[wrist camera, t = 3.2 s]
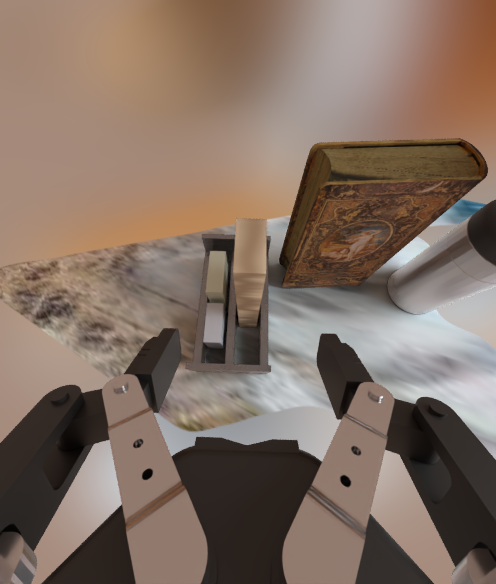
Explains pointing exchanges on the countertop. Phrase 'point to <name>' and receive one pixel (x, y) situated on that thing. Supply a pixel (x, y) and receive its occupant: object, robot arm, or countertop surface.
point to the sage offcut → (218, 278)
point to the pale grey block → (215, 326)
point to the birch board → (249, 268)
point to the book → (371, 204)
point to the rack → (229, 315)
